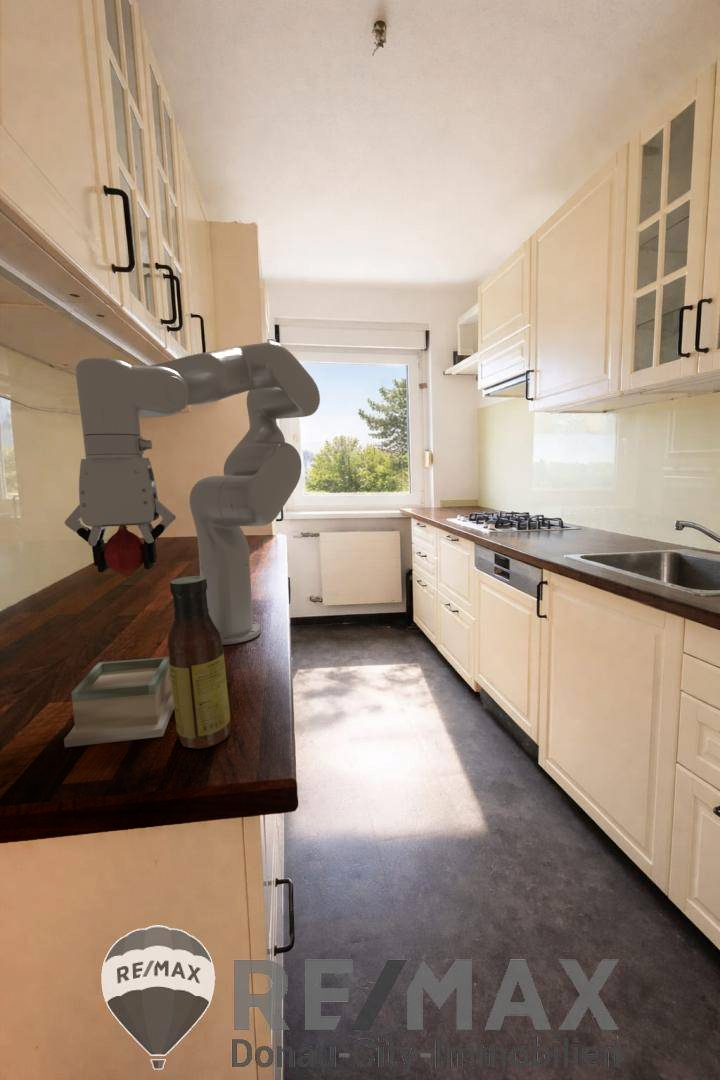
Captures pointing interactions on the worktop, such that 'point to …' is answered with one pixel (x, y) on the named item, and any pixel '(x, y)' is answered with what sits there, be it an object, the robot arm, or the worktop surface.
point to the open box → (122, 702)
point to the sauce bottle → (197, 667)
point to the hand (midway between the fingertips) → (126, 567)
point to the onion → (124, 552)
